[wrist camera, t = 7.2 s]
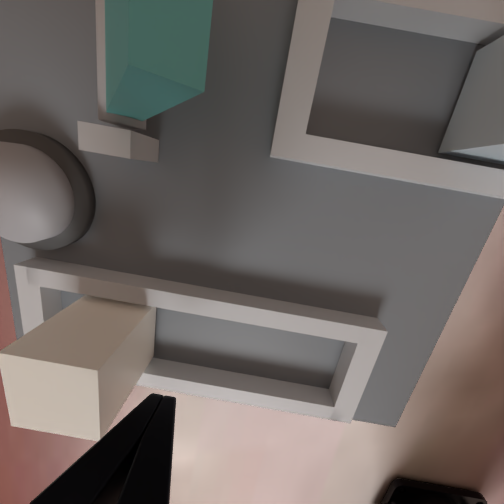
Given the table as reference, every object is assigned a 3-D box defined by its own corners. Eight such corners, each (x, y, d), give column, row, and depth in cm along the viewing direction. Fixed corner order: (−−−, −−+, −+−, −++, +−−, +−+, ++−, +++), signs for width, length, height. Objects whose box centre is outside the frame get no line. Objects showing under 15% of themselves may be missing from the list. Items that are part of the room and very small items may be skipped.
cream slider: (156, 302, 11) (97, 370, 7) (153, 355, 12) (99, 441, 8) (91, 290, 11) (-3, 352, 7) (93, 345, 12) (11, 426, 8)
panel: (521, 39, 10) (731, -74, 5) (374, 387, 15) (418, 472, 11) (17, -52, 9) (-189, -241, 5) (54, 329, 15) (-31, 391, 11)
